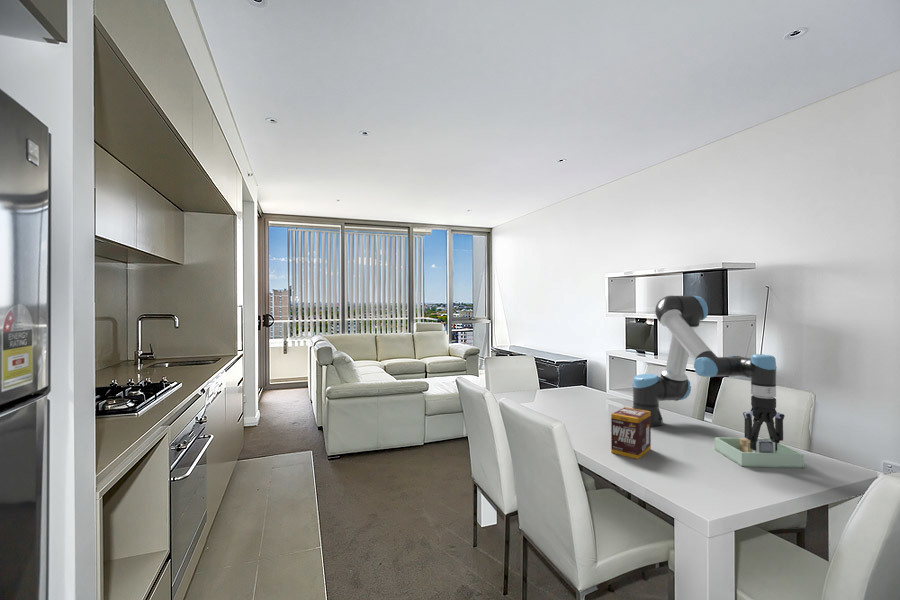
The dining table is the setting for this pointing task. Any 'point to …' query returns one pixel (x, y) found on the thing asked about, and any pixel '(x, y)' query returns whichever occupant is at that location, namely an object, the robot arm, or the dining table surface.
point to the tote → (759, 455)
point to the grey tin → (765, 446)
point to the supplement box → (631, 432)
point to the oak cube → (745, 445)
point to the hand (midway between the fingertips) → (763, 458)
